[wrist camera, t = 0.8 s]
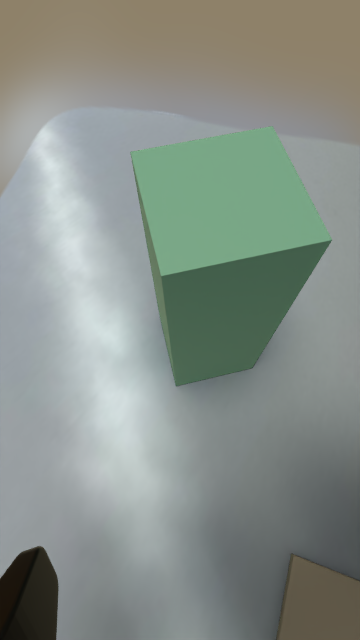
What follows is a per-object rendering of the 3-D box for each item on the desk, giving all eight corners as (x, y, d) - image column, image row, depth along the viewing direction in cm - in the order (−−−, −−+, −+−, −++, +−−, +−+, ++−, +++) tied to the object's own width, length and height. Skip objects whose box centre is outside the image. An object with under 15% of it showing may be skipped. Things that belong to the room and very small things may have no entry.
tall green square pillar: (252, 368, 21) (332, 239, 10) (175, 386, 21) (161, 275, 9) (229, 300, 23) (272, 126, 12) (159, 316, 23) (130, 151, 11)
